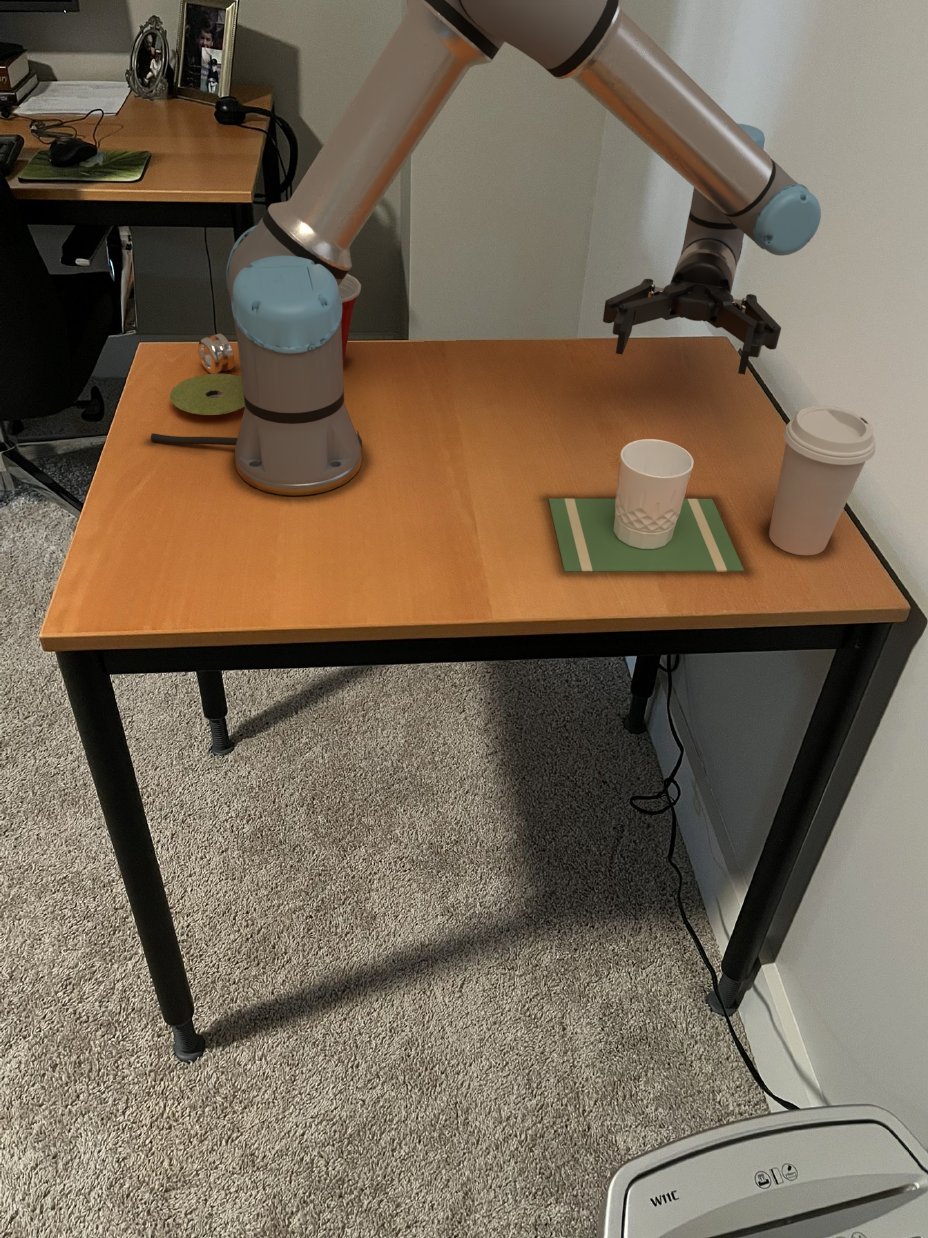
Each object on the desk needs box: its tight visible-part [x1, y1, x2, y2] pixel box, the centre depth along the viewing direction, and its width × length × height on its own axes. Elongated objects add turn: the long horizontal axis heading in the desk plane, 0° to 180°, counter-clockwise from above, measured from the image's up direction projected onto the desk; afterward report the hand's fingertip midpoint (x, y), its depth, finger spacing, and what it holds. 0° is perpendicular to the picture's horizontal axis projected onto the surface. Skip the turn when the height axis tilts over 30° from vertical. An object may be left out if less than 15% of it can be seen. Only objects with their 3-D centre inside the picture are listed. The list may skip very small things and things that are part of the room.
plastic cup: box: [338, 273, 362, 364], centre depth 139 cm, size 11×11×12 cm
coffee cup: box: [768, 405, 876, 556], centre depth 109 cm, size 10×10×15 cm
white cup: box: [614, 438, 695, 549], centre depth 110 cm, size 8×8×10 cm
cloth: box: [548, 498, 745, 573], centre depth 114 cm, size 20×14×1 cm
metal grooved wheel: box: [197, 333, 235, 374], centre depth 138 cm, size 5×3×5 cm, turn 41°
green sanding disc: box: [169, 372, 245, 416], centre depth 131 cm, size 11×11×2 cm
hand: (681, 352), depth 109 cm, fingers open, 13 cm apart
